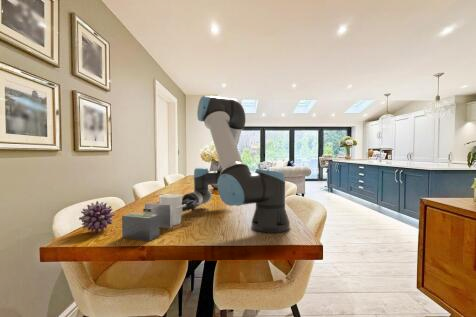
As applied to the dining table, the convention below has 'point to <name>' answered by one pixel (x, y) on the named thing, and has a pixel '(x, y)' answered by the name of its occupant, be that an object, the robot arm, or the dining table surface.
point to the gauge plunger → (160, 213)
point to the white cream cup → (173, 205)
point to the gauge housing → (140, 226)
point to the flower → (96, 216)
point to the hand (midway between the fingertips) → (165, 209)
